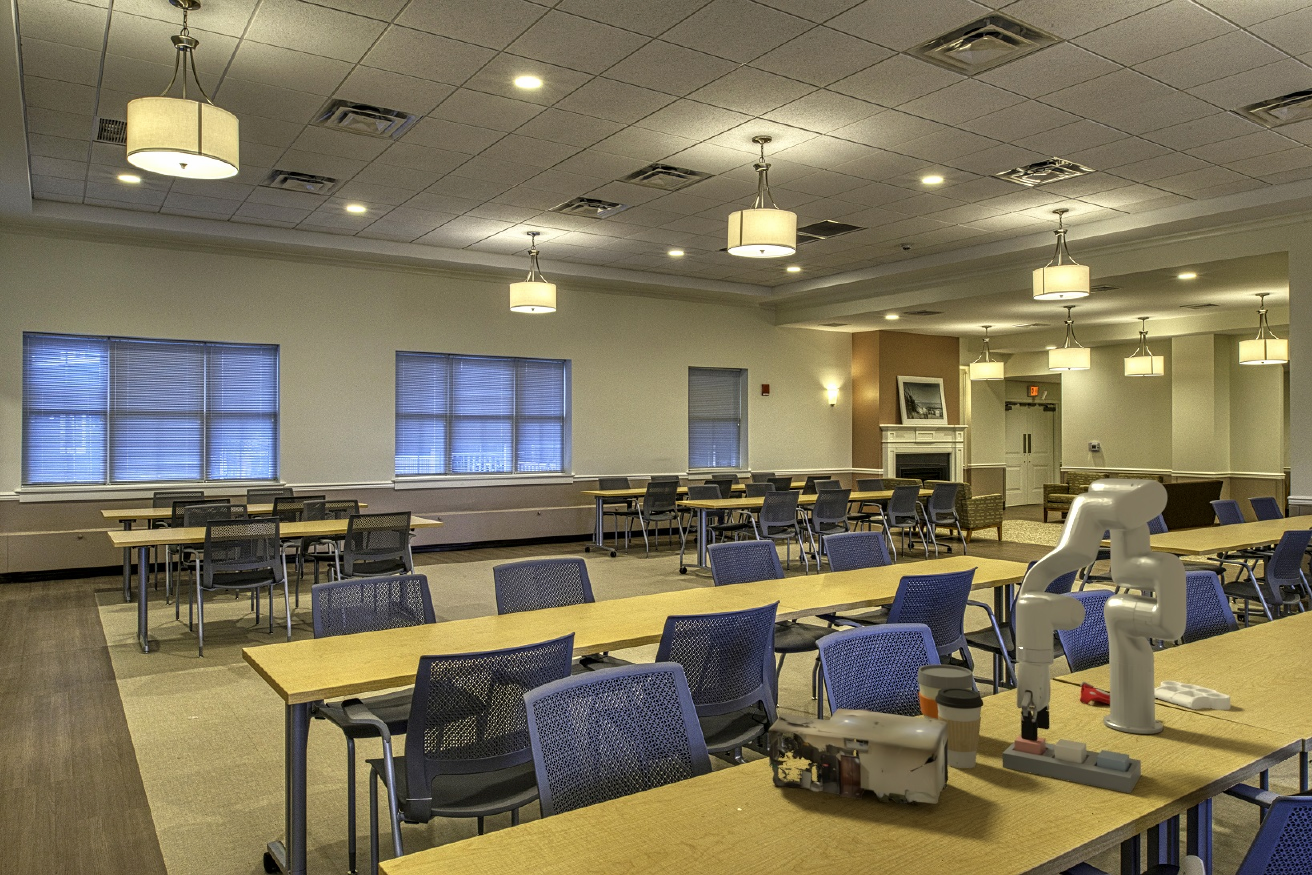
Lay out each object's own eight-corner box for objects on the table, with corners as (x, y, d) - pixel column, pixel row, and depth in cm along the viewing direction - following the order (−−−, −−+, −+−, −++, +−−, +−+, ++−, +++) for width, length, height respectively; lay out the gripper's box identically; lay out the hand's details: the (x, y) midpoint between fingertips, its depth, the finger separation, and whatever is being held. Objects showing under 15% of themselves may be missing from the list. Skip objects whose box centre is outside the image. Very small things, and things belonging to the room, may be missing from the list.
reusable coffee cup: (951, 723, 215) (950, 662, 215) (985, 739, 203) (984, 674, 204) (907, 729, 211) (906, 666, 211) (939, 746, 199) (938, 679, 200)
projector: (791, 758, 191) (791, 697, 191) (948, 783, 177) (948, 717, 177) (765, 791, 175) (764, 724, 174) (936, 821, 161) (935, 749, 161)
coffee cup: (986, 759, 191) (985, 689, 191) (982, 774, 182) (981, 701, 182) (938, 752, 195) (937, 684, 195) (932, 767, 186) (931, 696, 186)
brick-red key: (1021, 752, 192) (1021, 734, 192) (1045, 757, 189) (1045, 738, 189) (1014, 759, 188) (1014, 740, 188) (1039, 763, 185) (1039, 744, 185)
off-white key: (1060, 757, 187) (1060, 738, 187) (1086, 762, 184) (1086, 743, 184) (1054, 764, 183) (1054, 745, 183) (1081, 769, 180) (1080, 750, 180)
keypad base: (1018, 751, 195) (1018, 737, 195) (1140, 774, 181) (1140, 760, 181) (1002, 767, 186) (1002, 752, 186) (1130, 793, 171) (1129, 777, 171)
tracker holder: (1126, 700, 231) (1104, 696, 226) (1120, 715, 231) (1098, 712, 226) (1086, 679, 242) (1064, 675, 237) (1080, 694, 242) (1058, 690, 237)
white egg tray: (1140, 696, 238) (1178, 690, 243) (1203, 715, 221) (1243, 708, 227) (1140, 684, 238) (1178, 678, 244) (1203, 701, 221) (1242, 695, 227)
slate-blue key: (1102, 769, 182) (1102, 749, 182) (1129, 774, 179) (1129, 754, 179) (1097, 776, 178) (1096, 756, 178) (1124, 782, 175) (1124, 761, 175)
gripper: (1027, 645, 201) (1028, 720, 201) (1005, 659, 188) (1006, 740, 187) (1062, 650, 197) (1063, 727, 197) (1042, 664, 183) (1043, 747, 183)
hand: (1035, 733), depth 192 cm, fingers open, 9 cm apart
